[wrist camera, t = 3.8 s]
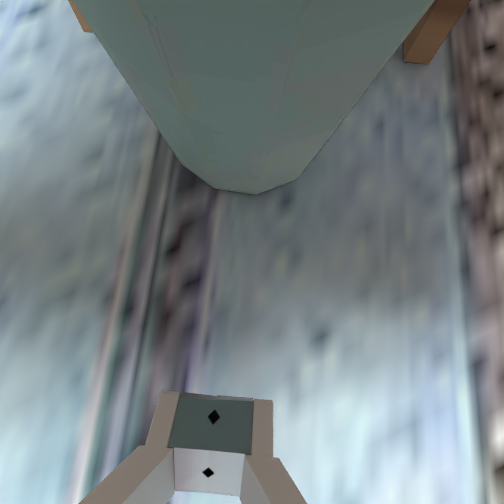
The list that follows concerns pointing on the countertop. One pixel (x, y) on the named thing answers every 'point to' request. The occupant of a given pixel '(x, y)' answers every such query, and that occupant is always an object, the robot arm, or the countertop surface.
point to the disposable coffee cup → (250, 75)
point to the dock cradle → (419, 39)
